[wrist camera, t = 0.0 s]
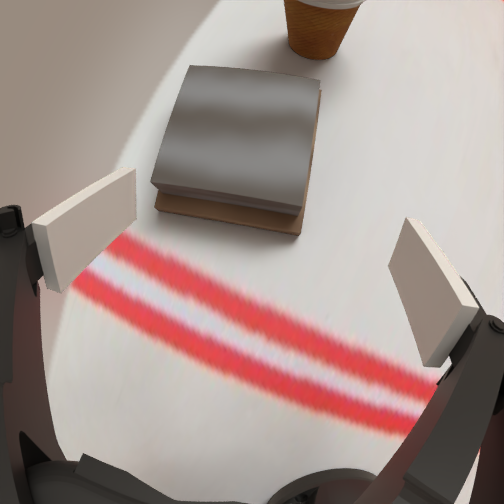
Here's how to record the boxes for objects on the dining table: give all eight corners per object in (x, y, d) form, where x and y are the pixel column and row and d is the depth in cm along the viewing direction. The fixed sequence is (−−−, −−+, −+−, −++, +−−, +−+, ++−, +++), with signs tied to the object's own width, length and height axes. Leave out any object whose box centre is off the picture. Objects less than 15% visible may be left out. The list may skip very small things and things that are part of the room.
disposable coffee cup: (291, 75, 31) (299, -2, 20) (265, 26, 33) (264, -44, 21) (362, 64, 31) (389, -3, 19) (331, 18, 32) (344, -46, 21)
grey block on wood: (298, 235, 29) (305, 225, 24) (159, 211, 30) (140, 197, 25) (319, 97, 31) (326, 70, 26) (198, 81, 32) (189, 55, 27)
